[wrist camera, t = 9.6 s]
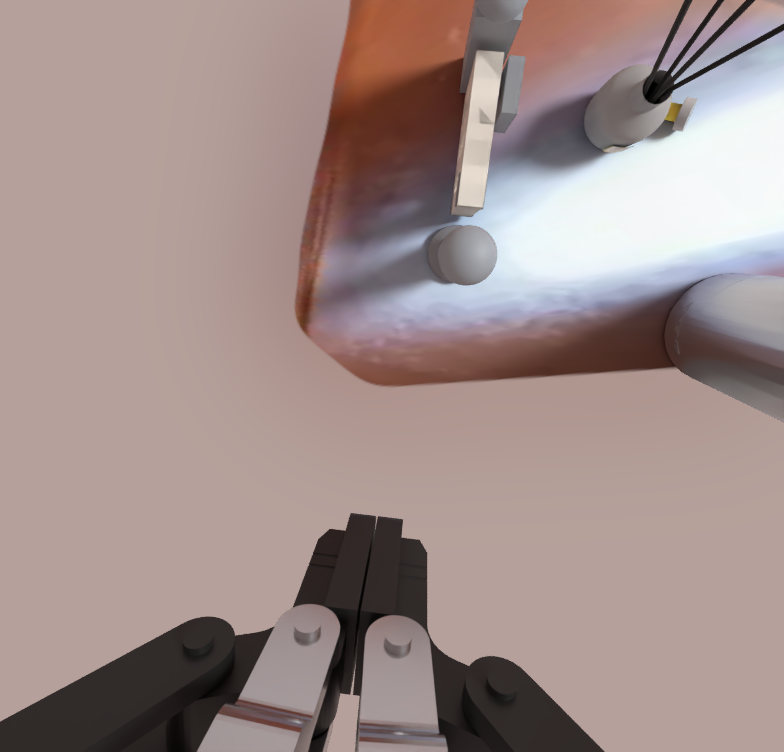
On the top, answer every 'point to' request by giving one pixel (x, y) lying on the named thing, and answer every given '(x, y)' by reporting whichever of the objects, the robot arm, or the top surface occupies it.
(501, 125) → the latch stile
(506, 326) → the top surface
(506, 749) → the robot arm
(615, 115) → the reed diffuser
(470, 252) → the hinge post
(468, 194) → the gate
